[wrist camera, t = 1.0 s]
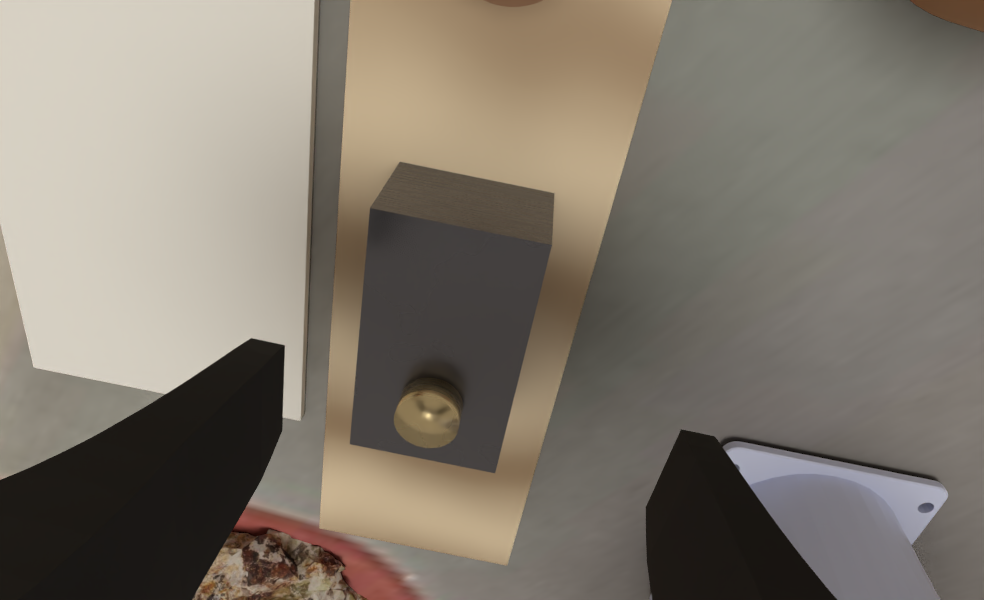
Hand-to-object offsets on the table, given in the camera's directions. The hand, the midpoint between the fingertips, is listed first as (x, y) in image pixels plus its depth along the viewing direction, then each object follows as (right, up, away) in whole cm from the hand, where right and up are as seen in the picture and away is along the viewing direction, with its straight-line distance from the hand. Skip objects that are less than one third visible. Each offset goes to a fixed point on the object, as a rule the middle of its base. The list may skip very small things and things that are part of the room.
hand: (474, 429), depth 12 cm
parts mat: (-10, +6, +9) cm, 15 cm away
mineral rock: (-9, -11, +19) cm, 24 cm away
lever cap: (-1, +2, +7) cm, 7 cm away
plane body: (0, +4, +9) cm, 10 cm away
